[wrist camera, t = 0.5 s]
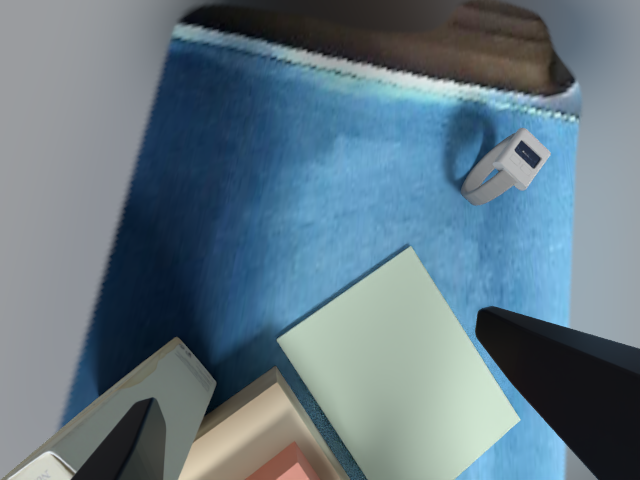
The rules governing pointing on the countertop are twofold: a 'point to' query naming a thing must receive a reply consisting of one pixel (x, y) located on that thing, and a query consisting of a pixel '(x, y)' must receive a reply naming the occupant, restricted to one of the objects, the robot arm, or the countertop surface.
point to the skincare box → (106, 411)
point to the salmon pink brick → (286, 466)
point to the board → (257, 434)
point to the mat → (400, 376)
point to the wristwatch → (505, 167)
